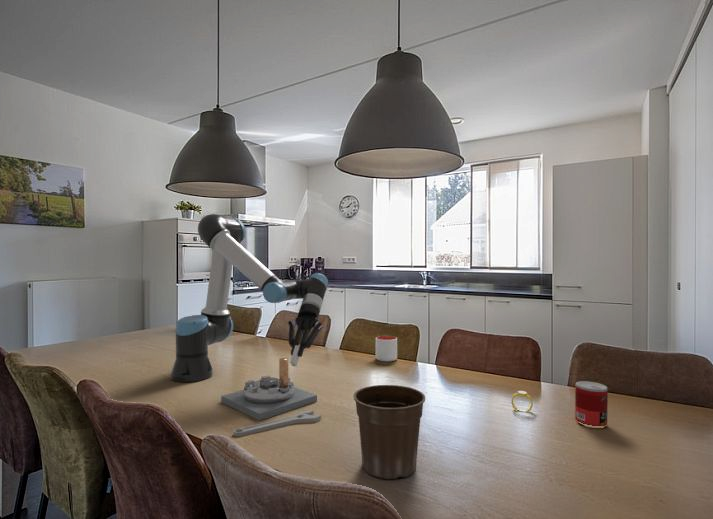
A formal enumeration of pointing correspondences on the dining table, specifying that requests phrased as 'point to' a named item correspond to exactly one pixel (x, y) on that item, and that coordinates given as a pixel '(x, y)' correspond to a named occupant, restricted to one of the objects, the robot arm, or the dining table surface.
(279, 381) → the metal rotary base
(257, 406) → the base plate
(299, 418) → the adjustable wrench
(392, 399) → the plant pot
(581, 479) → the dining table surface
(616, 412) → the dining table surface
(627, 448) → the dining table surface
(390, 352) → the cup
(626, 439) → the dining table surface
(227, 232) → the robot arm
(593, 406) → the canned food
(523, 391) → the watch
